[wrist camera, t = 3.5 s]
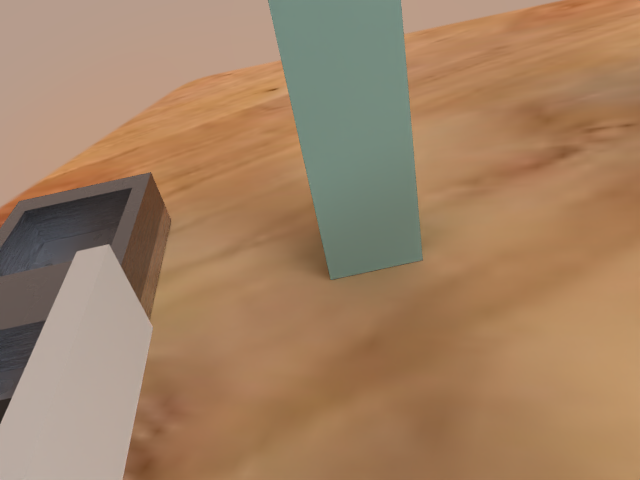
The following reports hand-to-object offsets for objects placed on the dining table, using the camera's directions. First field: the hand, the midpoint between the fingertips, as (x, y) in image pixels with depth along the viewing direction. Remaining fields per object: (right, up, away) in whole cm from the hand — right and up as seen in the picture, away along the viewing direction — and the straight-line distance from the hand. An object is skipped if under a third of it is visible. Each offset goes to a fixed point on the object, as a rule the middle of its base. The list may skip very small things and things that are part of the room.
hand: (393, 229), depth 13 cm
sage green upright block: (0, 0, +11) cm, 11 cm away
